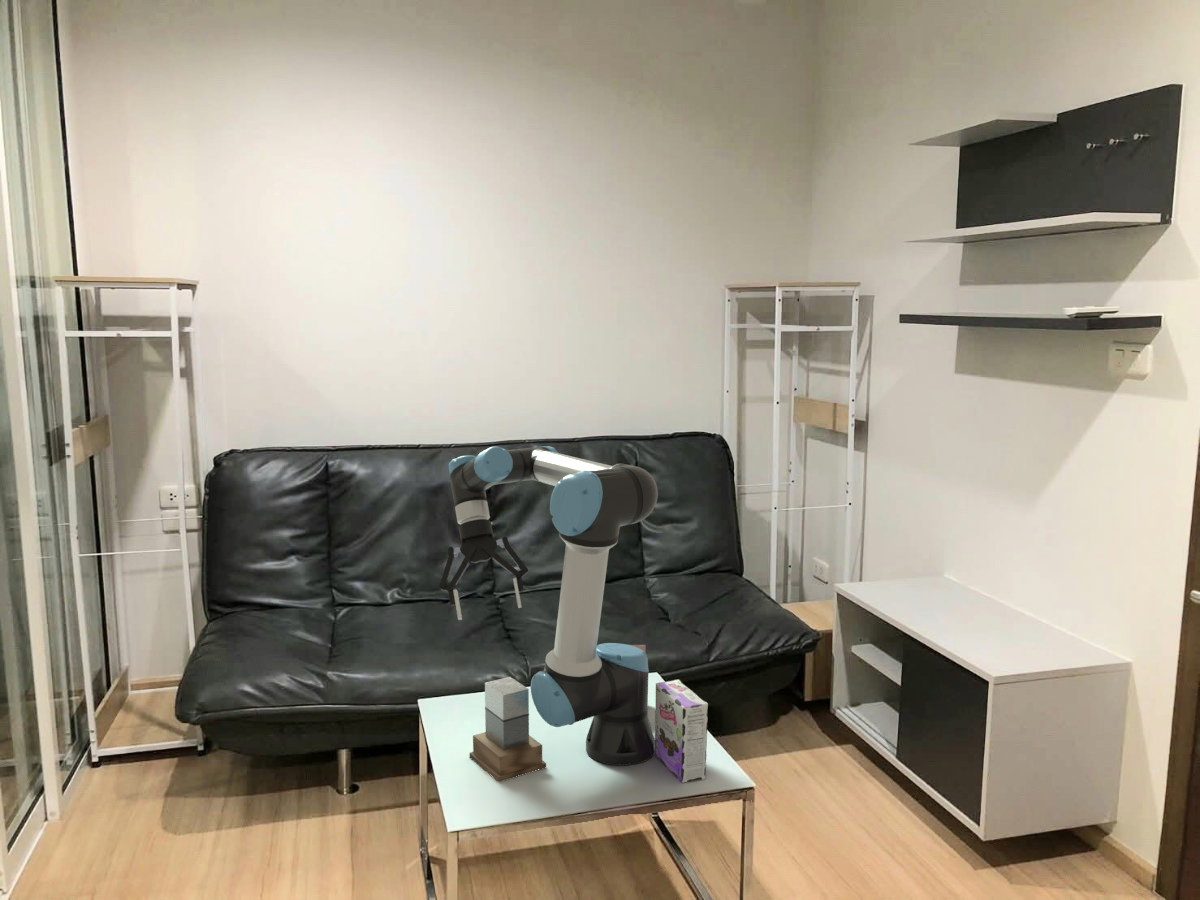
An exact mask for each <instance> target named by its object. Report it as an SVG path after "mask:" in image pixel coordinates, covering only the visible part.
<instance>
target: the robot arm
mask: <svg viewBox="0 0 1200 900" xmlns="http://www.w3.org/2000/svg"><path fill="white" fill-rule="evenodd" d="M448 471H449V476H448V477H449V481H450V486H451V487H450V488H451V492H452V497H453V503H454V508H455V509H454V511H455V515H456V516H455V517H456V521H457V524H458V525H459V526H458V533H459V538H460V546H459V547H453V546H449V547H448V549H447V554H448V557H447V560H446V563H445V566H444V570H443V573H442V576H441V580H440V582H439V589H440V591H445V592H447V593H448V597H449V603H450V605H451V607H453V606H455V609H456V615H457V620H458V621H462V620H463V615H462V609H461V605H460V604H461V603H460V598H459V592H458V591H459V590H457V589H456V587H457V586H458V584H459V582H460V580H461V579H462V577H463V576H464V573H465V572H466V571H467V569H468V568H469V566H470V564H471V563H473V564H478V563H480V562H482V563H483V562H489V560H490V559H491V560H493V561H494V562H495V563H497V564H498V565H499V566H501V567H502V568H503V569H504V570H506V571H507V572H508V573H509V574H510V575H512V576H513V577H514V578H512V580H513V586H514V592H515V596H516V597H515V598H516V603H517V607H518V608H517V609H521V608H522V607H523V606H522V602H521V597H520V596H521V595H520V593H523V592H524V584H523V579H522V578H523V577H524V576H526V575H528V573H529V569H528V567H527V566H526V564H525V563H524V562H523V561H522V559H521V558H520V556H518V554H517V553H516V552H515V550H514V549H513V548H512V546H511V545H510V542H509V540H508V539H509V538H508V537H507V536H502V538H499V539H495V537H494V534H493V533H494V532H493V531H494V530H493V526H492V521H491V520H490V518H491V516H490V510H489V505H488V503H489V502H488V499H487V494H486V490H488V489H489V488H491V487H492V486H495V485H502V484H510V483H511V484H512V483H518V482H525V481H536V482H538V483H542V484H547V485H550V486H553V487H554V488H553V490H552V492H551V497H550V502H549V512H550V516H552V518H551V521H552V524H553V525H554V527H555V529H556V530H557V531H558V532H559V538H560V539H561V540H562V542H564V544H565V550H564V559H563V569H562V577H561V585H560V594H559V602H558V603H559V605H558V613H557V620H556V621H557V622H556V629H555V638H554V648H553V649H552V650H550V651H549V652H547V654H546V656H545V660H544V661H545V662H544V669H543V670H541V671H537V672H536V673H535V674H534V675H533V676H532V678H531V681H530V695H531V698H532V701H533V704H534V706H535V709H536V710H537V712H538V715H539V716H540V717H541V718H542V719H543V721H544V722H546V723H547V724H548V725H549V726H552V727H555V728H561V727H564V726H572V725H574V724H575V723H577V722H581V721H583V720H586V719H590V718H592V720H591V723H590V727H589V730H588V732H587V734H586V735H587V736H586V738H585V739H586V740H585V751H586V754H587V756H589V757H590V758H591V759H593V760H595V761H597V762H599V763H602V764H606V765H614V766H632V765H637V764H641V763H643V762H646V761H648V760H649V759H651V758H652V757H653V756H654V755H655V735H654V734H653V733H654V732H653V729H652V725H651V723H650V719H649V717H648V716H649V715H648V708H649V707H648V705H649V703H648V701H649V700H648V698H649V695H648V694H649V673H650V669H649V659H648V655H647V653H645V652H644V651H643V650H641V649H639V648H637V647H634V646H631V645H632V644H625V643H617V642H604V643H600V644H598V638H599V632H600V631H599V630H600V623H601V616H602V609H603V608H602V607H603V599H604V591H605V584H606V575H607V567H608V560H609V552H610V549H612V548H613V547H615V546H616V545H617V544H618V542H619V536H620V528H621V527H623V526H630V525H633V524H637V523H640V522H642V521H644V520H645V519H646V518H648V517H649V516H650V514H652V512H653V511H654V509H655V506H656V504H657V502H658V497H659V492H658V491H659V490H658V486H657V482H656V481H655V479H654V477H653V476H652V475H651V473H649V472H648V471H647V470H646V469H645V468H642V467H640V466H636V465H631V464H627V463H626V464H625V463H616V464H614V465H610V464H605V463H600V462H598V461H597V462H596V461H593V460H589V459H584V458H579V457H575V456H571V455H567V454H563V453H559V452H558V450H556V448H555V447H553V446H549V445H547V446H544V445H543V446H542V445H537V446H534V447H526V448H517V449H505V448H503V447H501V446H495V445H494V446H491V447H488V448H486V449H483V450H482V451H481V452H479V454H477V455H461V456H457V458H453V459H452V460H451V461H450V462H449V463H448ZM497 546H500V548H502V549H505V551H506V553H507V554H508V556H509V557H510V558H511V559H512V560H513V562H514V563H515V564H516V566H517V567H518V568H519V570H518V569H517V568H515V567H514V566H513V565H511V564H510V563H509V562H507V561H506V560H505V558H503V557H502V556H500V555H499V553H496V552H495V551H496V549H497ZM459 553H461V554H462V555H463V556H464V558H463V560H462V562H461V564H460V566H459V567H458V569H457V571H456V572H455V574H454V575H453V577H452V579H451V581H450V582H449V578H450V576H451V572H452V570H453V566H454V564H455V563H454V562H455V559H456V558H458V556H459ZM448 582H449V584H448Z"/></svg>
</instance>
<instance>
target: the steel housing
mask: <svg viewBox="0 0 1200 900" xmlns="http://www.w3.org/2000/svg"><path fill="white" fill-rule="evenodd" d="M529 692H530V691H529V688H528V687H526V686H525V685H523V684H522V683H520V682H519V681H517V680H516V679H514V678H512V677H511V676H506V677H503V678H500V679H494V680H490V681H487V682H484V710H485V711H484V713H485V714H484V716H485V717H484V718H485V719H484V720H485V722H484V723H485V732H486V737H487V738H488V739H490V740H491V741H492V742H493V743H495V744H496V745H497V746H498V747H500V748H501V749H502V750H503V751H505V750H508V749H511V748H515V747H518V746H522V745H525V744H529V735H530V722H529V720H530V712H529V711H530V707H529V706H530V705H529V702H530V701H529V700H530V699H529V698H530V697H529V696H530V695H529Z"/></svg>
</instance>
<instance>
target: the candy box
mask: <svg viewBox="0 0 1200 900" xmlns="http://www.w3.org/2000/svg"><path fill="white" fill-rule="evenodd" d="M708 707H709V703H708V702H707V701H705V700H703V698H701V697H700V696H698V695H697V693H695V692H694V691H693V690H692V689H690V688H689V687H688V686H687V685H685V684H684V683H683V682H682V681H681V679H673V680H667V681H661V682H656V683H655V719H654V720H655V729H654V731H655V732H654V738H655V753H654V755H655V756H656V757H657V758H658V759H659V760H660V762H662V764H664V766H665V767H666V768H667V769H668V770H669V771H670V772H671V773H672V774H673V775H674V776H675V777H676V779H678V781H679V782H680V783H682V784H683V783H690V782H696V781H702V780H706V776H707V775H706V774H707V773H706V772H707V743H708V742H707V739H708V712H709V711H708Z"/></svg>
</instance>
